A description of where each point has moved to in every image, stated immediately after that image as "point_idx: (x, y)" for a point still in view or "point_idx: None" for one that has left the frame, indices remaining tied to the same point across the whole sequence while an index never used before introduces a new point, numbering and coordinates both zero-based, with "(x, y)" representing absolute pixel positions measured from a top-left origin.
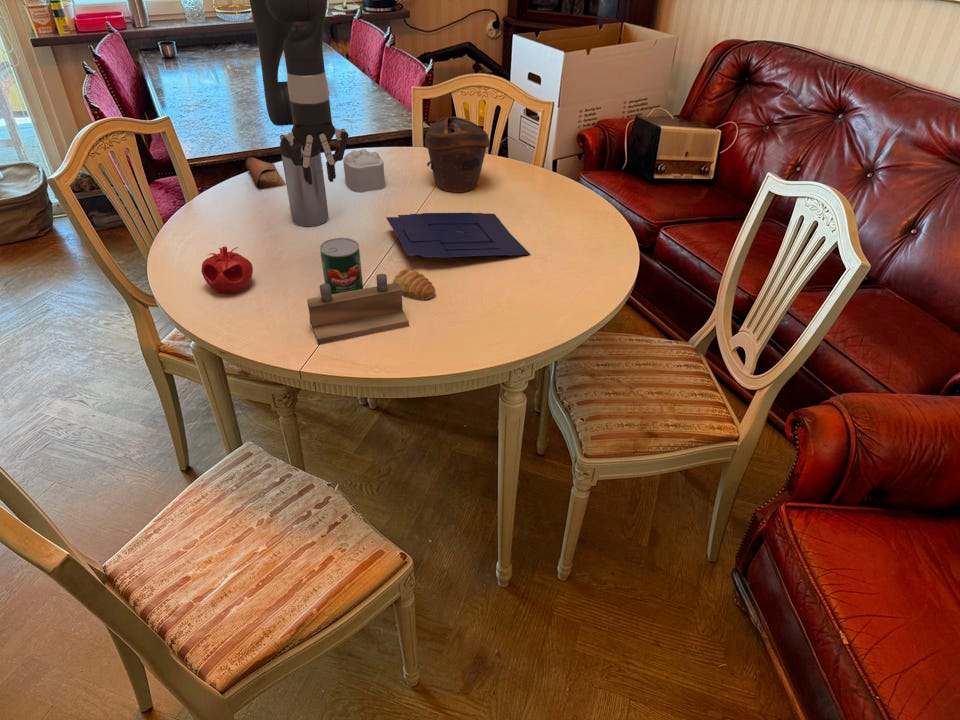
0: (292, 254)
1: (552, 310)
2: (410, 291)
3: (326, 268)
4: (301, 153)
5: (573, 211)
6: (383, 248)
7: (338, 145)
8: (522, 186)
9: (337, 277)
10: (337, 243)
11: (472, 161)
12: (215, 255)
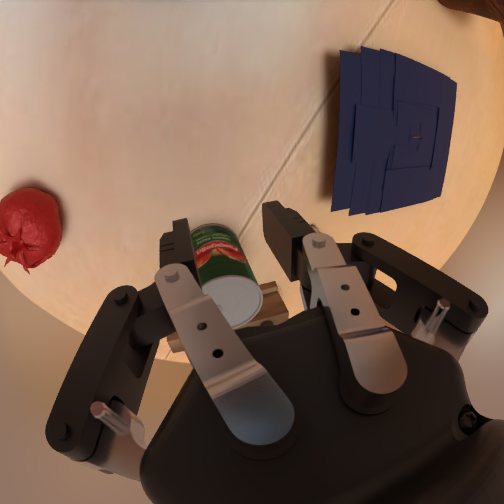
0: (118, 106)
1: (395, 289)
2: None
3: None
4: (167, 310)
5: (495, 121)
6: (301, 114)
7: (397, 303)
8: (486, 40)
9: None
10: (224, 291)
11: (490, 18)
12: (3, 246)
